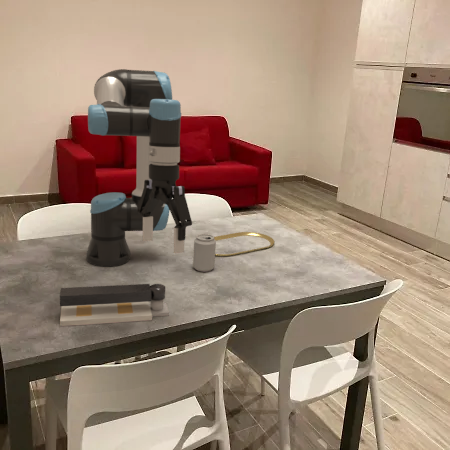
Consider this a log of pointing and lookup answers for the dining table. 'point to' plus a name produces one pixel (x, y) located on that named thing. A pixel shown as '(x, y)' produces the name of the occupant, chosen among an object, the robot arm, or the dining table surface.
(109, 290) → the swing arm
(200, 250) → the can
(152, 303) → the panel
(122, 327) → the dining table surface
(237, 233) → the curved rod
